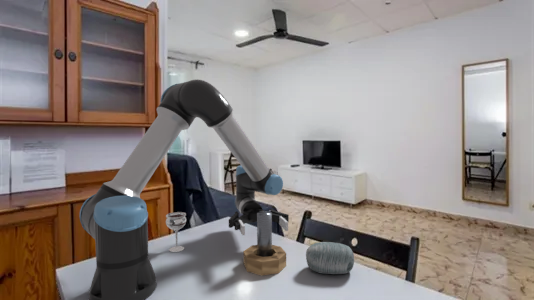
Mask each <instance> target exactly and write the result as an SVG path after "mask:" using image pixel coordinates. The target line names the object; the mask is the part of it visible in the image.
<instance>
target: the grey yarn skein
mask: <svg viewBox="0 0 534 300" xmlns="http://www.w3.org/2000/svg"><path fill="white" fill-rule="evenodd" d="M305 257H306V258H305V260H306V263H307V267H308V268H309V270H311V271H313V272H315V273H318V274H319V273H320V274H325V275H326V274H327V275H328V274H329V275H345V274H348V273H350V272H351V271H352V270H353V268H354V265H355V255H354V251H353V250H352V248H351V247H350V246H349V245H346V244H343V243H340V242H331V241H321V242H315V243H313V244H310V245H309V247H308V248H307V249H306V252H305Z"/></svg>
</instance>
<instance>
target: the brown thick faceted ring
mask: <svg viewBox="0 0 534 300" xmlns="http://www.w3.org/2000/svg"><path fill="white" fill-rule="evenodd" d="M243 265H244V268H245V269H246V272H247V273H252V274H255V275H258V276H261V277H263V276H268V275H276V274H280V272H281V271H283V270H284V269H285V268H286V267H287V252H286V251H285V250H284V249H283V248H282V246H280V245H274V244H272V256H268V257H261V256H257V244H255V245H253V244H252V245H250V246H249V247H247V248H245V250H243Z"/></svg>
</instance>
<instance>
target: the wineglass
mask: <svg viewBox="0 0 534 300" xmlns="http://www.w3.org/2000/svg"><path fill="white" fill-rule="evenodd" d="M186 216H187V213H186V212H182V211H177V212H169V213H167V214H166V215H165V218H166V219H165V225H166V227H167V228H169V229H170V230H172V231H174V234H175V236H174V237H175V246H171V247H170V248H169V249H168V251H170V252H171V253H176V252H177V253H178V252H182V251H183V250H184V249H185V246H183V245H182V246H181V245H178V236H179V235H178V232H179V231H180V229H182V228H184V226H185V225H186V223H187V217H186Z"/></svg>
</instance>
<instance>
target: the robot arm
mask: <svg viewBox="0 0 534 300" xmlns="http://www.w3.org/2000/svg"><path fill="white" fill-rule="evenodd" d="M159 102H160V103H159V105H158V106H157V107H156V113H157V117H156V118H155V119H154V120H153V122H152V123H151V125H150V127H148V129H147V130H146V132H145V134H144V135H143V136H142V137H141V139H140V140H139V142H138V144H137V145H136V147H134V149H133V151H132V152H131V153H130V155H129V156H128V157H127V159H126V161H125V162H124V163H123V165H122V166H121V167H120V168H119V170H118V172H117V173H116V174H115V176H114V178H112V180H110V181H107V182H103V183H102V185H101V186H100V187H99V189H98V190H97V192H96V193H93V194H92V195H91V196H89V197H88V198H87V199H85V201H84V202H83V203H82V205H81V206H80V209H79V222H80V224H81V226H82V228H83V230H84V231H86V233H88V234H89V235H90V236H91V237H92V239H94V241H95V257H96V258H95V260H96V262H95V263H96V267H95V271H94V274H93V277H92V280H91V283H90V286H89V291H88V297H89V298H88V300H146V299H147V298H149V297H150V296H151V295H152V294H153V293H154V292H155V290H156V288H157V276H156V273H155V270H154V268H153V266H152V262H151V260H150V258H149V231H148V230H149V228H148V226H149V225H148V224H149V223H148V219H149V212H148V210H147V209H148V207H147V204H146V201H145V200H144V199H142V198H141V196H140V195H141V193H142V192H143V190H144V189H145V187H146V186H147V184H148V182H149V181H150V179H151V178H152V176H153V175H154V173H155V171H156V170H157V168H159V165H160V164H161V163H162V161H163V160H164V158H165V156H166V155H167V153H168V152H169V150H170V149H171V147H172V146H173V144H174V142H175V141H176V139H177V138H178V137H179V135H180V134H181V132H182V131H185V130H188V129H189V128H190V127H191V125H192V124H193V122H194V121H195V120H196V118H199V119H201V120H202V122H204V124H205V125H206V126H207V127H208V128H213V129H214V131H215V133H216V134H217V135H218V137H219V138H220V139H221V140H222V142H223V143H224V145H225V146H226V147H227V149H228V150H229V151H230V153H231V154H232V156H234V158H235V159H236V161H237V162H238V163H239V164H240V165H237V167H236V171H235V172H236V173H235V186H236V191H235V198H234V206H235V208H236V210H238V211H234V214H233V215H232V216H231V217H230V218H229V219H228V228H233V227H234V231H239V232H240V233H241V236H246V225H245V224H249V223H251V224H253V223H257V213H258V212H260V211H265V210H264V209H263V207H262V205H260V203H258V201H257V200H256V196H255V195H256V194H255V192H256V193H261V194H265V195H271V196H277V195H279V194H280V193H281V191H282V190H283V186H284V180H283V178H282V176H281V175H278V174H276V173H272V171H271V169H270V168H269V167H268V165H267V164H266V163H265V161H264V160H263V158H262V156H261V155H260V153H259V152H258V150H257V148H256V147H255V146H254V144H253V143H252V141H251V140H250V139H249V136H247V134H246V132H245V131H244V130H243V128H242V127H241V125H240V124H239V121H237V119H236V118H235V116H234V114H233V113H234V109H233V108H232V105H231V104H230V103H229V102H228V100H227V98H225V96H224V95H223V94H222V93H221V92H220V91H219V89H217V88H216V87H215V86H214V85H212V84H211V83H209V82H208V81H205V80H202V79H192V80H188V81H184V82H181V83H176V84H172V85H171V86H170V85H169V87H168V88H166V89H165V90H164V91H163V92H162V94H161V97H160V101H159ZM268 211H269V212H271V213H272V223H278V224H279V226H280V227H281V228H282V229H283V230H284V231H286V232H288V231H289V216H290V215H289V214H288V213H284V212H281V211H276V210H274V209H273V208H269V209H268Z"/></svg>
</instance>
